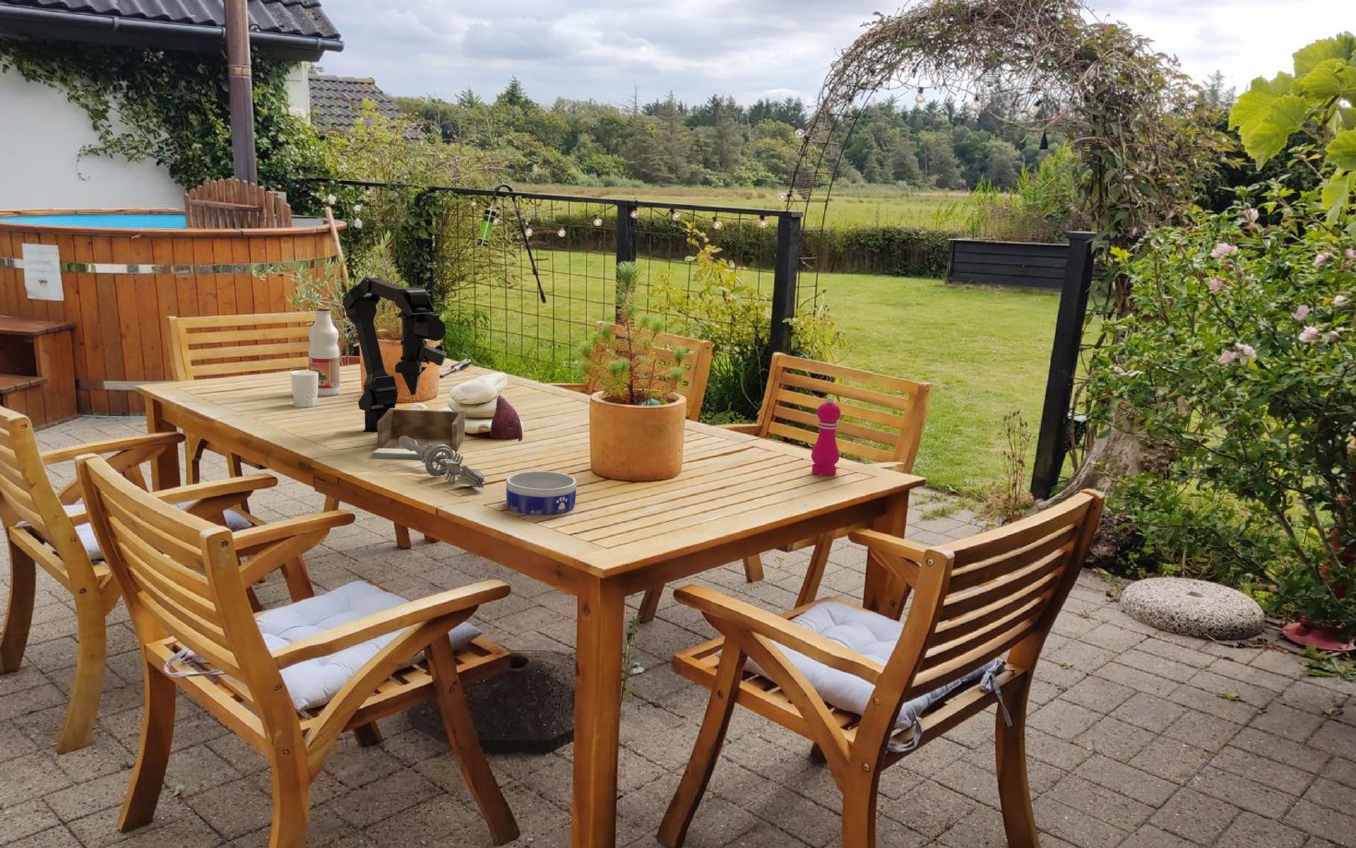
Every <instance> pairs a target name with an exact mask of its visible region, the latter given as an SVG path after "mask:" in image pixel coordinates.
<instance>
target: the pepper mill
mask: <svg viewBox="0 0 1356 848" xmlns="http://www.w3.org/2000/svg"><path fill="white" fill-rule="evenodd" d="M825 401H826V402H825V403H824V402H823V403H822V404H820V405H819V406H818V408H817V410H816V416H817V418H818V419H819V420H818V425H817V427H818V428H819V430H818V431H819V432H818V437H817V440H816V442H815V444H814V446H813V448H812V450H811V455H810V458H811V460H812V462H813V464H812V467H811V472H812V473H813V472H814V473H816V474H815V475H818V474H823V475H822V476H824V475H831V476H834V475H833V474H835V475H836V474H837V466H836V464H838V462H839V460H840V450H839V448H838V445H837V441H836V432H837V431H836V430H837V429H838V424H839V422H838V420H839V419H840V418H841V415H842V414H841V408H840V406H838V404H836V403H834V398H833V397H831V396H828V397H827V398H826V400H825ZM814 473H813V474H814Z"/></svg>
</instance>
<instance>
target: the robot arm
mask: <svg viewBox="0 0 1356 848" xmlns="http://www.w3.org/2000/svg"><path fill="white" fill-rule="evenodd" d="M381 298H383V299H385V300H388V301H391V302H393V303H394V305H395V307H397V308H398V309H399V310H401V311H400V312H399V313H398V314H397V316H396V317H397V318H400V319H401V340H400V345H401V356H400V360H399V361H398V362H397V363H396V364H395V365H394V373H396V374H401V376H402V378H403V380H404V382H405V385H406V386H407V389H408V391H409V392H410V395H412V396H415V395H416V393H417V390H418V386H419V383H420V378H421V374H422V373H423V372H424V371H425V370H426V369H427V366H423V363H426V364H427V365H430V364H431V363H433V364H435V365H436V366H439V367H442V365H444V362H445V360H446V358H447V353H448V352H447V351H445V349H444V348H445V346H444V345H441V344H437V345H436V346H435V347H434V346H430V345H428V341H427V340H429V341H433V342H439V341H441V340H442V339H443V338H444V336H445V335H446V331H447V330H446V329H447V327H446V326H445V323H444V322H443V320H441V319H440V314H438V313H436V311H435V307H434V305H433V303H432V301H431V299H430V297H429V294H428V292H427V290H426V289H425V288H423V287H403V286H401V285H398V284H395V283H392V282H389V281H386V280H384V279H382V278H380V277H366V278H363V279H362V280H361V282H360V283H359V284H356V285H355V286H353V287H352V288H350V289H349V290H348V291H347V293H346V294H345V296H344V297H343V298H342V306H343V308H344V311H345V314H346V317H347V318H348V319H349V320H350V321H351V323H352V324H353V325H355V330H356V334H357V338H358V339H357V340H358V342H359V347H360V351H361V355H362V359H363V363H364V367H365V372H366V377H365V381H364V384H363V392H364V393H363V394H362V396H361V397H360V398H359V399H358V401H357V402H358V407H359V410H361V411H364V429H363V431H362V432H363V433H378V432H377V422H378V421H379V420H380V419H381V418H382V417H383V415H384V414H385V413H386V412H387V411H388V410H389V409H395V408H396V405H397V401H398V396H399V395H398V394H399V393H398V389H399V388H398V387H397V384H396V378H395V376H394V375H389V374H388V373H387V371H386V368H385V365H384V360H383V357H382V352H381V347H380V344H379V340H378V339H379V338H378V335H377V330H376V326H375V322H374V320H375V318H376V314H377V312H378V309H377V305H378V304H379V302H380V301H381V300H382V299H381Z"/></svg>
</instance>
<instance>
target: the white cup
mask: <svg viewBox="0 0 1356 848" xmlns="http://www.w3.org/2000/svg"><path fill="white" fill-rule="evenodd" d="M290 378H291V379H290V380H291V390H292V400H293V401H292V402H293V405H294V407H300V408H310V407H312V408H313V407H316V406H317V405H318V396H319V395H318V372H315V371H309V370H296V371H295V370H294V371H291V372H290Z"/></svg>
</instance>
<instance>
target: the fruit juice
mask: <svg viewBox="0 0 1356 848" xmlns="http://www.w3.org/2000/svg"><path fill="white" fill-rule="evenodd" d="M314 312H315V320H314V323H313V324H312V326H311V327H310V329H309V330H308V340H309V342H310V343H309V347H308V371H315V372H318V396H322V397H323V396H324V397H325V396H329V397H330V396H335V395H339V394H340V392H341V373H340V366H341V365H340V364H341V363H340V361H341V360H340V348H339V344H338V340H339V337H340V335H339V330H338V329H337V328H336V326H335V325H334V323H333V321H332V317H331V313H332V307H331V306H325V305H324V306H323V305H322V306H320V305H319V306H315V308H314Z"/></svg>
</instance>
